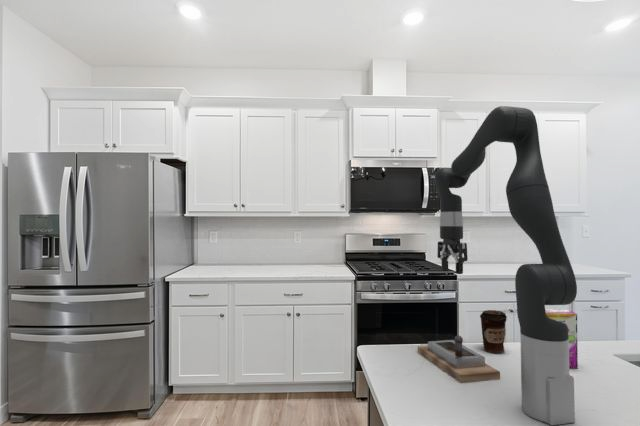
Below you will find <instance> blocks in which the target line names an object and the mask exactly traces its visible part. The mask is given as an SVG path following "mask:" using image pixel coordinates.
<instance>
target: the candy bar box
mask: <svg viewBox="0 0 640 426" xmlns="http://www.w3.org/2000/svg"><path fill="white" fill-rule="evenodd" d="M545 311H546V315H547V317H549V318H550V319H553V320H556V321H559V322H562V323H563V324H565V325H566V326H567V328H568V336H569V338H568V339H569V369H578V366H579V365H578V313H576V312H574V311H571V310H568V309H550V308H548V309H547V308H545Z"/></svg>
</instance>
